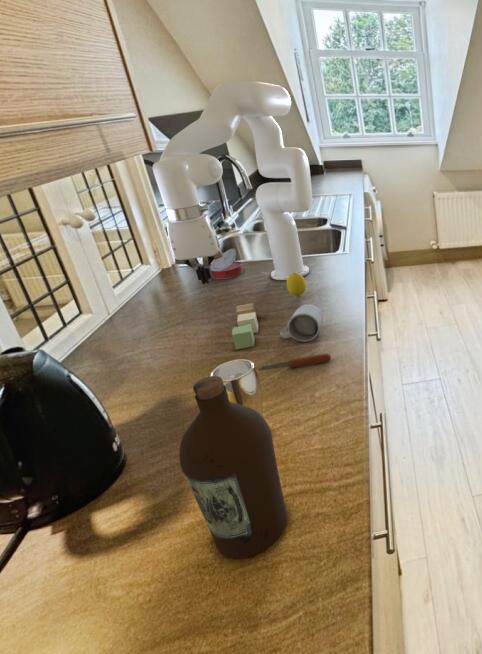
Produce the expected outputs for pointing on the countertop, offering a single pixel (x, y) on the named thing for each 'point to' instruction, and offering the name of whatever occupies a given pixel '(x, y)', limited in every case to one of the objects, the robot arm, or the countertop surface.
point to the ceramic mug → (304, 324)
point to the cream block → (248, 321)
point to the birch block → (245, 309)
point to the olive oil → (233, 472)
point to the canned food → (226, 266)
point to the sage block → (243, 336)
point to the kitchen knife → (300, 361)
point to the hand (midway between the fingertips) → (206, 281)
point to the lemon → (296, 284)
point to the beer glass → (241, 383)
